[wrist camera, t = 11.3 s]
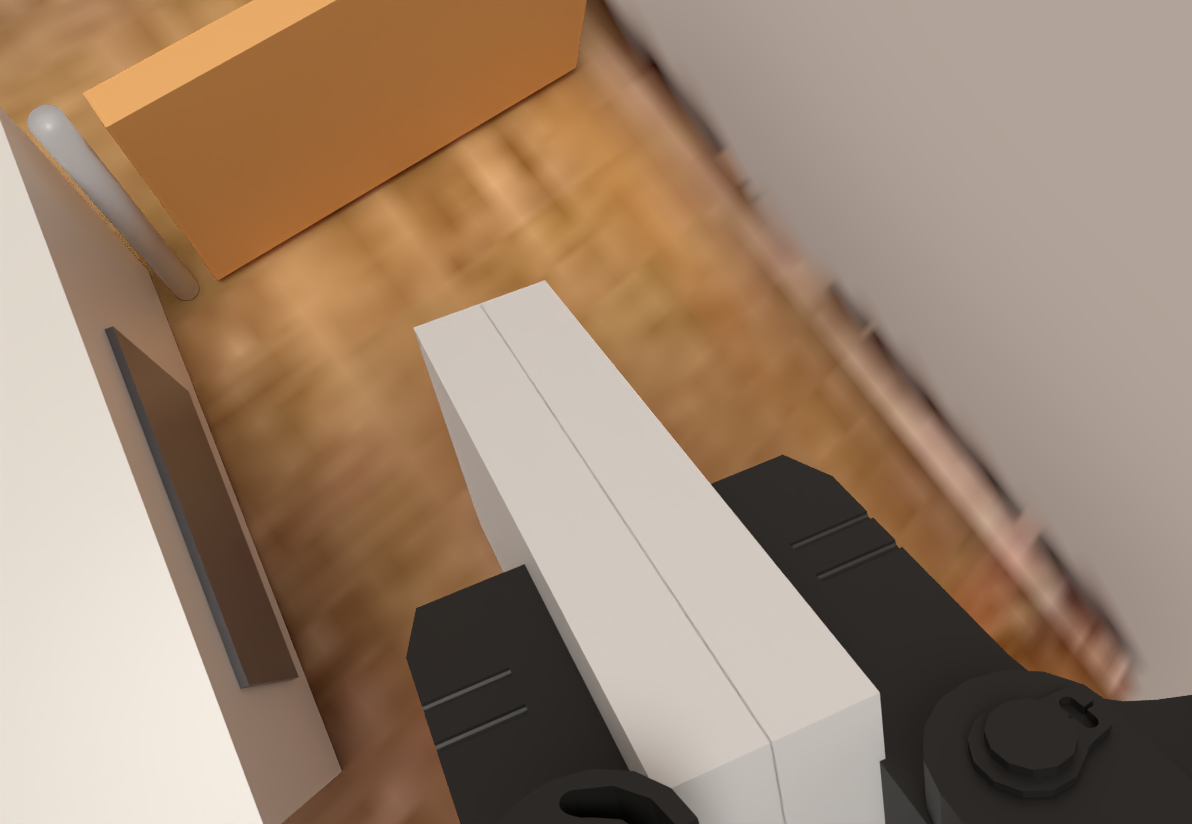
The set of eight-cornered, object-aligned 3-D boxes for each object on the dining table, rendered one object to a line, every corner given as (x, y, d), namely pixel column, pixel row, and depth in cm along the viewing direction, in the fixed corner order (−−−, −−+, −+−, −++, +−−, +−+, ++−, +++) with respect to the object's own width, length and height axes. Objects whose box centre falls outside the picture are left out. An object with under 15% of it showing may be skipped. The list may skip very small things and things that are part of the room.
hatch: (217, 280, 36) (105, 127, 26) (178, 221, 37) (50, 45, 26) (576, 67, 39) (610, -152, 28) (537, 13, 39) (555, -224, 29)
